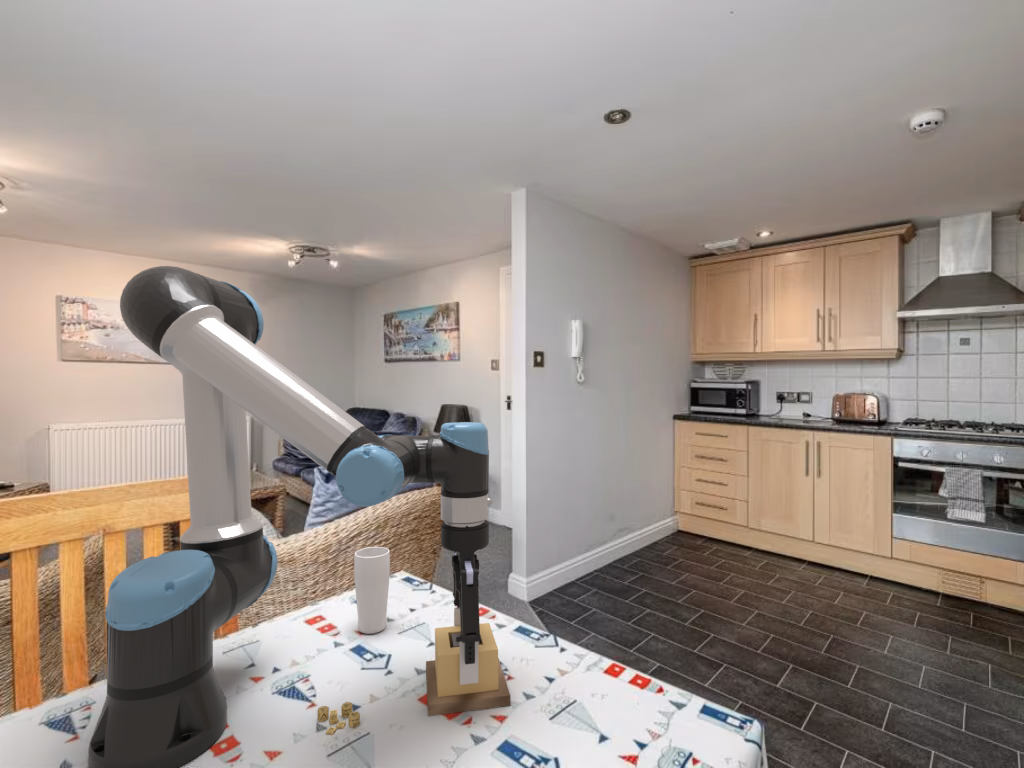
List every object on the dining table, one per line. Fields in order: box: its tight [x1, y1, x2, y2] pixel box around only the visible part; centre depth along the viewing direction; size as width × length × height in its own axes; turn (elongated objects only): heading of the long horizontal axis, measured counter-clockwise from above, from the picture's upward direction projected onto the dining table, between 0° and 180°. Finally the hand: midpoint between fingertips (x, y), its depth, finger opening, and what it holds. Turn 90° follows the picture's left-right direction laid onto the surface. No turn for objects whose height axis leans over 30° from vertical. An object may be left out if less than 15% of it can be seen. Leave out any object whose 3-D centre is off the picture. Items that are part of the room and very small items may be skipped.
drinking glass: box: [353, 546, 391, 635], centre depth 99 cm, size 7×7×15 cm
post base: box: [425, 633, 511, 717], centre depth 79 cm, size 12×12×8 cm
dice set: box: [317, 701, 361, 736], centre depth 71 cm, size 5×5×2 cm
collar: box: [434, 622, 499, 697], centre depth 79 cm, size 9×9×6 cm
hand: (465, 663), depth 79 cm, fingers open, 10 cm apart
